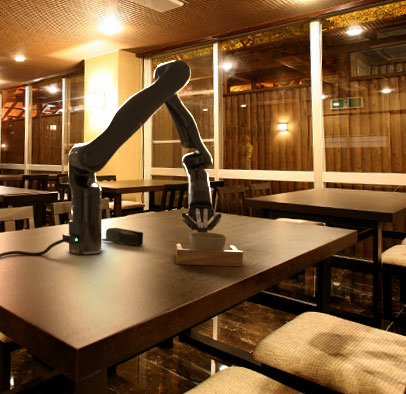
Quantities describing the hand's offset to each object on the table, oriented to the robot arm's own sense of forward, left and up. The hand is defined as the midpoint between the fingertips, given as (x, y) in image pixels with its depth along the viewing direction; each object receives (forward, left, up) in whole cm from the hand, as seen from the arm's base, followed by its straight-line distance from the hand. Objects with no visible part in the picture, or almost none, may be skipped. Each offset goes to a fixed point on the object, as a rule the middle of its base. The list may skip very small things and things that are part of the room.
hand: (203, 239), depth 121 cm
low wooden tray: (-7, -7, -4) cm, 11 cm away
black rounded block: (-11, +25, -4) cm, 28 cm away
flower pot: (-7, -7, -4) cm, 10 cm away
